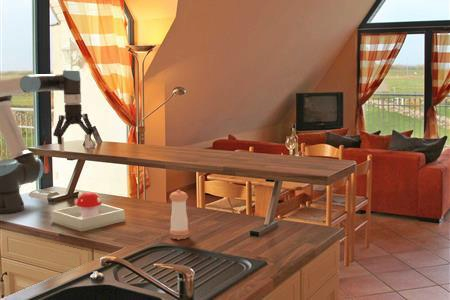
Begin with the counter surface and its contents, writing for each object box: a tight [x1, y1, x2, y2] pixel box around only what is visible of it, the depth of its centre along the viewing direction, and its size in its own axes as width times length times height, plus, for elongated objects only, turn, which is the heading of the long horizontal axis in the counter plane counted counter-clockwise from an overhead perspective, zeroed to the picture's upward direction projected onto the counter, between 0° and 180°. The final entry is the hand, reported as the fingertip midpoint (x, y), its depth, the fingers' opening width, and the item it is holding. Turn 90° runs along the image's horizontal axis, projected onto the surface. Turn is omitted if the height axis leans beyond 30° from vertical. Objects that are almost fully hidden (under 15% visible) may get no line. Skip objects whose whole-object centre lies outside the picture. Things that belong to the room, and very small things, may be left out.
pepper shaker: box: [169, 189, 190, 235], centre depth 226 cm, size 7×7×19 cm
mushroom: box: [75, 191, 103, 219], centre depth 252 cm, size 11×11×12 cm
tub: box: [51, 203, 126, 232], centre depth 252 cm, size 22×22×5 cm
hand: (74, 149), depth 268 cm, fingers open, 13 cm apart
